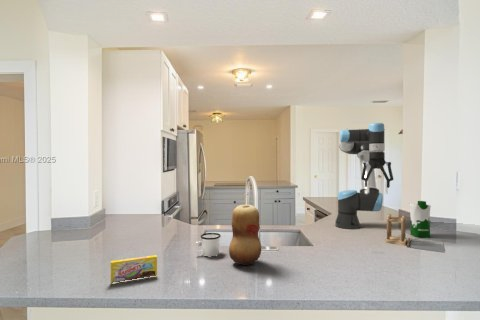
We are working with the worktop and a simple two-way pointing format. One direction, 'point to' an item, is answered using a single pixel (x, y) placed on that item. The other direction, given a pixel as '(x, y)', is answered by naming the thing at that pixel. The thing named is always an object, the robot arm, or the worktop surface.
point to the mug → (210, 244)
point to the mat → (427, 246)
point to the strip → (408, 242)
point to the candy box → (133, 268)
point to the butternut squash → (245, 235)
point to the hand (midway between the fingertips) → (377, 193)
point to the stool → (402, 239)
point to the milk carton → (420, 219)
